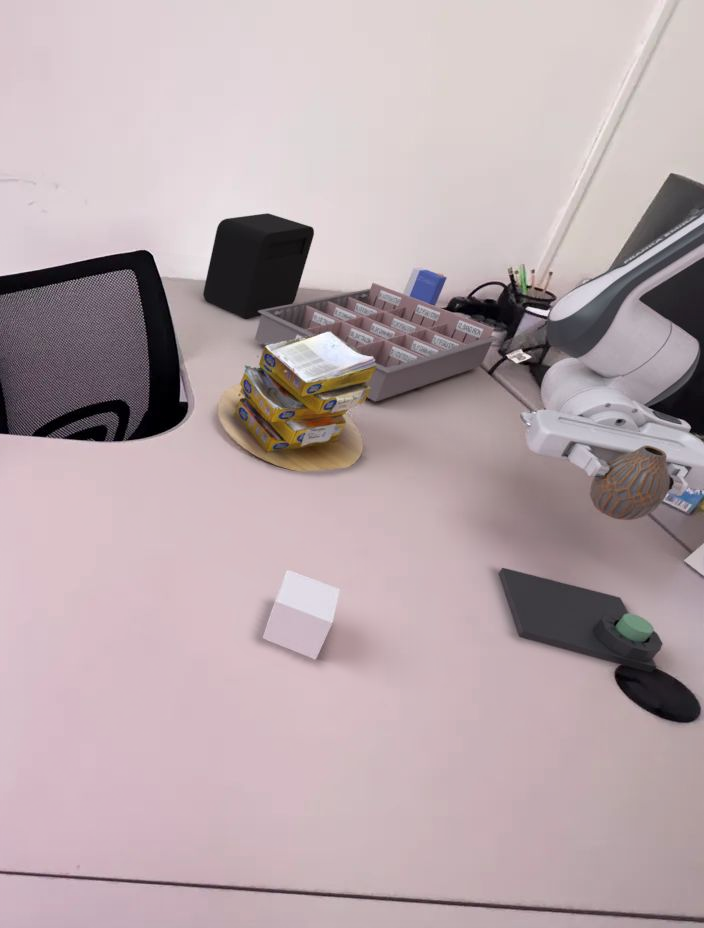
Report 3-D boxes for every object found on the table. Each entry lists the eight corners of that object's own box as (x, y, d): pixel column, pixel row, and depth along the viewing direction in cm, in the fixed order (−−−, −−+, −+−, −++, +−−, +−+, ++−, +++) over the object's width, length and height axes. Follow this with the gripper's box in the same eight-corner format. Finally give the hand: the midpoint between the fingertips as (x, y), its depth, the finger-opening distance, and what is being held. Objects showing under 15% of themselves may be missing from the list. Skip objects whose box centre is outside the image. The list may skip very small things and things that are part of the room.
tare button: (639, 628, 80) (648, 617, 79) (649, 646, 77) (658, 635, 76) (611, 620, 80) (619, 610, 79) (620, 638, 78) (628, 628, 77)
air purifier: (248, 289, 179) (267, 210, 168) (293, 307, 170) (317, 225, 159) (197, 300, 168) (214, 217, 157) (242, 320, 159) (264, 234, 148)
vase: (616, 530, 79) (661, 469, 74) (567, 496, 85) (605, 436, 80) (659, 525, 81) (705, 465, 76) (608, 491, 87) (648, 433, 82)
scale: (619, 604, 87) (632, 588, 85) (655, 674, 77) (671, 657, 75) (497, 574, 90) (508, 557, 88) (518, 637, 80) (530, 620, 78)
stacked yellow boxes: (390, 470, 109) (431, 376, 100) (250, 476, 104) (280, 378, 94) (314, 397, 129) (343, 314, 119) (193, 399, 123) (213, 312, 114)
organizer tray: (248, 345, 147) (259, 301, 141) (358, 319, 167) (372, 280, 161) (373, 411, 126) (393, 362, 121) (483, 372, 146) (504, 329, 141)
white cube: (323, 626, 79) (340, 588, 75) (315, 660, 74) (332, 623, 71) (272, 606, 81) (286, 569, 77) (261, 639, 76) (276, 601, 73)
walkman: (428, 323, 170) (447, 275, 163) (420, 324, 169) (440, 276, 162) (402, 311, 175) (420, 265, 168) (395, 312, 174) (413, 266, 167)
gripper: (528, 389, 91) (555, 437, 80) (701, 424, 86) (755, 480, 75) (506, 429, 94) (529, 481, 83) (672, 464, 90) (719, 524, 79)
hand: (638, 481), depth 79 cm, fingers closed on vase, 7 cm apart
